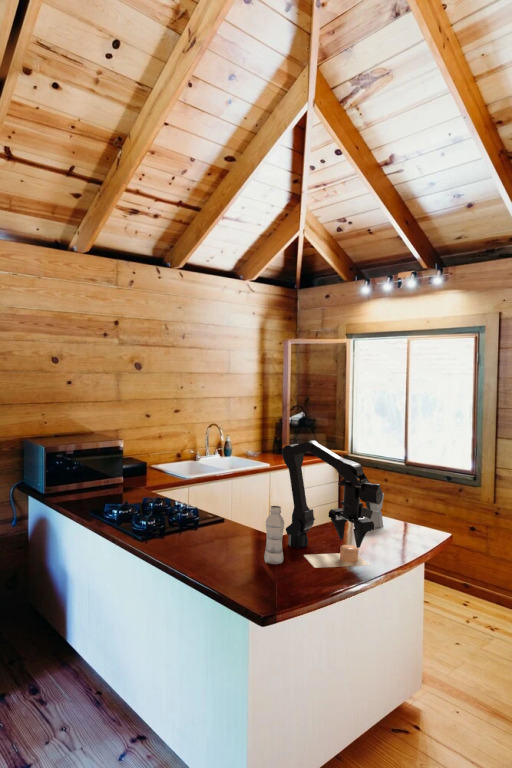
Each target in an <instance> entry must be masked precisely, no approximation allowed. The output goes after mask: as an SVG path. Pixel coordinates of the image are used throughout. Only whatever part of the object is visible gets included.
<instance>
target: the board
mask: <svg viewBox="0 0 512 768" xmlns="http://www.w3.org/2000/svg"><path fill="white" fill-rule="evenodd" d="M303 557H304V558H305V560H307V561H308V563H310V565H311V566H312V567H313V568H315V569H316V568H317V569H318V568H320V569H321V568H336V567H338V568H339V567H356V566H357V567H358V566H361V567H362V566H370V563H368V562H367V561H366V560H365V559H363V557H361V556H360V555H359V554H358V561H357V562H352V563H351V562H345V561H342V560H341V559H340V552H339V553H336V552H335V553H334V552H333V553H319V554H318V553H317V554H315V553H314V554H313V553H312V554H303Z"/></svg>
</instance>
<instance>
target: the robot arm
mask: <svg viewBox="0 0 512 768" xmlns="http://www.w3.org/2000/svg"><path fill="white" fill-rule="evenodd" d="M309 453H310V454H312V455H314V457H316V458H318V459H320V460H321V461H322V462H325V463H326V464H328V465H329V466H331V467H332V468H334V470H336V473H338V475H340V476H341V478H342V479H341V481H339V482H338V484H337V485H338V486H342V487H343V498H342V499H343V500H341V501H340V505H342V508H341V507H340V508H338V507H337V508H331V509H329V511H328V518H329V519H330V520H331V522H332V524H333V525H334V528H335V530H336V533H337V536H338V538H339V540H340V541H341V540H343V539H344V537H345V527H346V523H347V522H350V523H351V524H353V527H354V528H353V536H354V542H355V546H356V547H357V548H358V549H359V548H361V546H362V543H363V541H364V538H365V536H366V534H367V533H368V532H372V531H374V530H375V528H374V525H375V524H374V522H373V521H371V520H368V519H371V517H372V513H373V511H372V510H369V509H367V508H366V507H364V504H363V503H362V502H364V503H365V502H367V503H372V504H378V505H379V504H380V503H381V501H382V497H383V493H384V492H383V490H382V488H381V484H380V483H371V482H370V481H369V479H368V477H367V475H366V474H365V473H364V469H363V465H361V463H359V462H356V461H353V460H351V459H347V458H344V457H342V456H339V455H338V454H336V453H335V452H333V451H332V450H330V449H329V448H327V447H325V446H324V445H322V444H320V443H318V441H317V440H313V439H312V440H307V441H305V442H303V443H302V442H301V443H293V444H287V445H285V446H284V447H283V448H282V450H281V456H282V458H283V461H284V464H285V465H286V467H287V468H288V472H289V474H288V475H289V479H290V486H291V487H290V488H291V496H292V500H293V510H292V513H291V524H289V525H288V526H286V527H285V532H286V535H288V541H287V542H288V543H287V545H288V546H289V547H290V548H295V549H303V548H306V547H308V545H309V537H308V532H309V531H310V529H312V527H313V526H314V523H315V522H314V521H315V520H316V518H315V517H314V516H315V515H314V509H313V508H312V509H310V508H309V507H308V504H307V503H308V502H307V498H306V490H305V489H306V488H305V483H304V482H305V481H304V477H303V468H302V467H303V463H304V460H305V459H304V457H305V454H309ZM365 517H367V518H368V519H364V518H365Z"/></svg>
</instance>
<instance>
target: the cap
mask: <svg viewBox="0 0 512 768" xmlns="http://www.w3.org/2000/svg"><path fill="white" fill-rule="evenodd" d="M339 549H340V551H339V553H340V559H341V560H342V561H345V562H351V563H352V562H357V561H358V555H359V548H357V547H356V545H352V544H342V545H340V548H339Z"/></svg>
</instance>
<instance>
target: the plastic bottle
mask: <svg viewBox="0 0 512 768" xmlns="http://www.w3.org/2000/svg"><path fill="white" fill-rule="evenodd" d="M269 513H270V514H269V515H268V516H267V517H266V519H265V530H266V531H265V532H266V543H265V551H264V556H263V557H264V558H263V559H264V562H265V563H266V565H268V564H269V565H270V564H271V565H279V564H280V565H281V564H282V563H283V562H284V552H283V536H284V527H285V520H284V518H283V516H282V515H281V513H282V507H281V506H280V505H270V507H269Z"/></svg>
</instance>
